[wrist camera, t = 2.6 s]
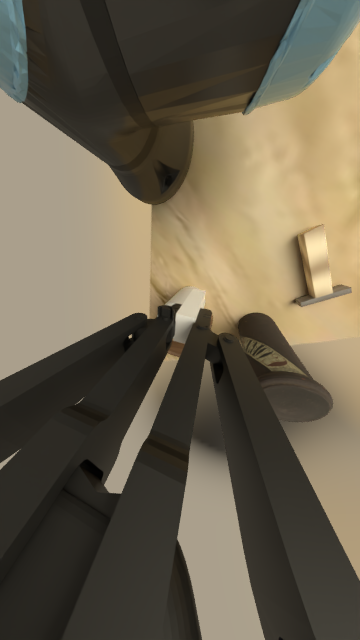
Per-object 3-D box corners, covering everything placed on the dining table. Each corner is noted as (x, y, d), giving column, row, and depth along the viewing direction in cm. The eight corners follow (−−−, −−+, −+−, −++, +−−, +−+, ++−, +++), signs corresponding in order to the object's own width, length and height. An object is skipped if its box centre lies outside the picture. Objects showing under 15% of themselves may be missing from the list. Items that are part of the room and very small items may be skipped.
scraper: (281, 242, 24) (286, 242, 22) (333, 217, 20) (345, 213, 18) (295, 302, 28) (301, 307, 26) (341, 289, 24) (351, 292, 22)
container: (250, 305, 30) (284, 374, 14) (285, 321, 30) (365, 414, 13) (230, 331, 35) (236, 405, 18) (260, 345, 35) (295, 436, 18)
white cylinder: (172, 308, 37) (154, 330, 27) (180, 281, 33) (161, 296, 23) (199, 318, 36) (189, 345, 26) (210, 292, 32) (204, 313, 22)
